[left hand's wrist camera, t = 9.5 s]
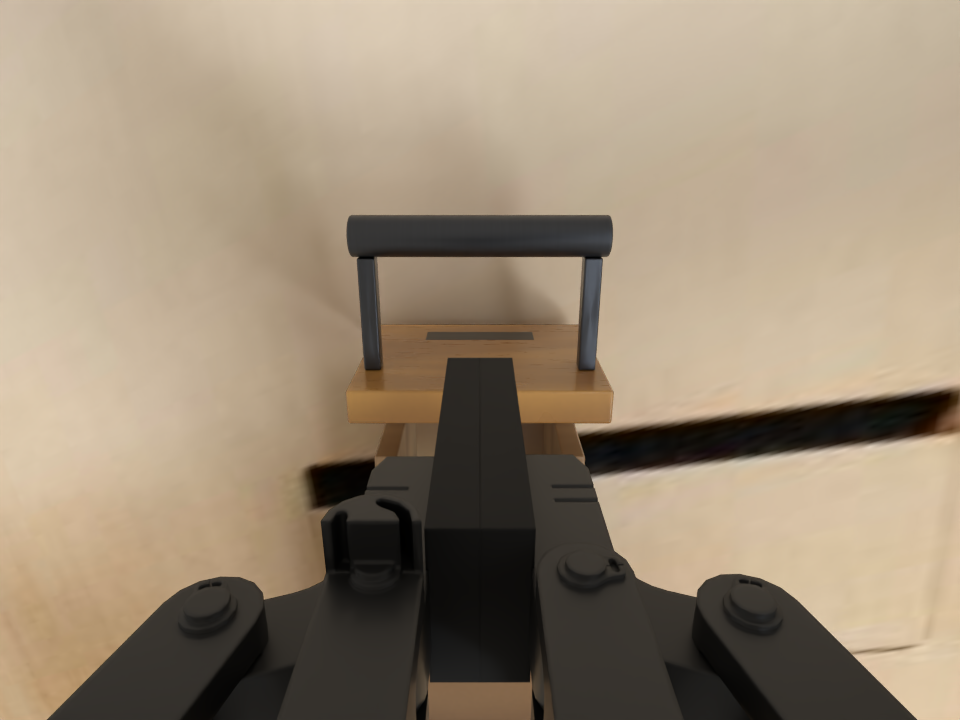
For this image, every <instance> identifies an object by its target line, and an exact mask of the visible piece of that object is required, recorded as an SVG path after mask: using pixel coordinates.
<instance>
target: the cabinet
mask: <svg viewBox="0 0 960 720" xmlns="http://www.w3.org/2000/svg"><path fill="white" fill-rule="evenodd" d="M428 701H429V720H531V701H532V680H531V673H530V682H430V673H429V683H428Z"/></svg>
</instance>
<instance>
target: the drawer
mask: <svg viewBox="0 0 960 720" xmlns="http://www.w3.org/2000/svg"><path fill="white" fill-rule="evenodd" d="M612 241H613V225H612V220H611V217H610V216H609V215H351V216H349V218H348V222H347V245H348V250H349V253H350V255H351V256H352V257H358V258H357V269H358V284H359V298H360V312H361V327H362V341H363V355H364V357H363V359H362V361H361V363H360V365H359V367H358V369H357V371H356V373H355V375H354V377H353V379H352V381H351V383H350V385H349V387H348V389H347V391H346V401H347V413H348V421H349V423H385V426H384V429H383V432H382V436H381V439H380V442H379V445H378V448H377V451H376V455H375V467H376V466H377V465H378V464H380V463H381V462H382V461H383V460H384V459H385V458H386V457H387V456H434V454H435V446H436V439H437V432H438V424H439V417H440V410H441V403H442V395H443V388H444V381H445V374H446V366H447V359H448V358H512V359H513V366H514V374H515V381H516V388H517V395H518V403H519V410H520V417H521V425H522V432H523V439H524V446H525V454H573V455H574V456H575V457H576V458H577V459H578V460H579V461H581V462H582V463H583V464H585V456H584V453H583V450H582V447H581V443H580V440H579V437H578V434H577V431H576V427H575V424H574V423H611V419H612V406H613V394H614V392H613V390H612V388H611V386H610V384H609V382H608V380H607V378H606V376H605V374H604V372H603V370H602V368H601V366H600V364H599V362H598V360H597V358H596V350H597V336H598V321H599V307H600V292H601V278H602V264H603V259H602V258H601V257H607V256H609V254H610V252H611V248H612ZM377 257H583V258H582V275H581V293H580V310H579V325H381V318H380V301H379V284H378V267H377Z"/></svg>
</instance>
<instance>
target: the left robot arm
mask: <svg viewBox="0 0 960 720" xmlns="http://www.w3.org/2000/svg"><path fill="white" fill-rule="evenodd" d="M321 528H322V537H323V547H324V556H325V565H326V575H325V578H324V581H322V582H320V583H318V584H316V585H314V586H312V587H310V588H308V589H305V590H302V591H298V592H295V593H292V594H287V595H283V596H279V597H274V598H270V599H266V600H264V598H263V593H262V591H261V590H260V589H259V588H258V587H257V585H256V584H255V583H254V582H251V581H248V580H246V579H243V578H240V577H217V578H213V579H208V580H203V581H199V582H197V583H195V584H193V585H191V586H188V587H186V588H184V589H182V590H180V591H179V592H177V593H176V594H175V595H173V596H172V597H171V598H169V599H168V600H167V601H165V602H164V603H163V604H162V605H161V606H160V607H159V608H158V609H157V610H156V611H155V612H154V613H153V614H152V615H151V616H150V617H149V618H148V619H147V620H146V621H145V622H144V623H143V624H142V625H141V626H140V627H139V628H138V629H137V630H136V631H135V632H134V633H133V634H132V635H131V636H130V637H129V638H128V639H127V640H126V641H125V642H124V643H123V644H122V645H121V646H120V647H119V648H118V649H117V650H116V651H115V652H114V653H113V654H112V655H111V656H110V657H109V658H108V659H107V660H106V661H105V662H104V663H103V664H102V665H101V666H100V667H99V668H98V669H97V670H96V671H95V672H94V673H93V674H92V675H91V676H90V677H89V678H88V679H87V680H86V681H85V682H84V683H83V684H82V685H81V686H80V687H79V688H78V689H77V690H76V691H75V692H74V693H73V694H72V695H71V696H70V697H69V698H68V699H67V700H66V701H65V702H64V703H63V704H62V705H61V706H60V707H59V708H58V709H57V710H56V711H55V712H54V713H53V714H52V715H51V716H50V717H49V718H48V719H47V720H429V701H428V683H429V673H430V682H530V673H531V680H532V701H531V720H917V719H916V718H915V717H914V716H913V715H912V714H911V713H910V712H909V711H908V710H907V709H906V708H905V707H904V706H903V705H902V704H901V703H900V702H899V701H898V700H897V699H896V698H895V697H894V696H893V695H892V694H891V693H890V692H889V691H888V690H887V689H886V688H885V687H884V686H883V685H882V684H881V683H880V682H879V681H878V680H877V679H876V678H875V677H874V676H873V675H872V674H871V673H870V672H869V671H868V670H867V669H866V668H865V667H864V666H863V665H862V664H861V663H860V662H859V661H858V660H857V659H856V658H855V657H854V656H853V655H852V654H851V653H850V652H849V651H848V650H847V649H846V648H845V647H844V646H843V645H842V644H841V643H840V642H839V641H838V640H837V639H836V638H835V637H834V636H833V635H832V634H831V633H830V632H829V631H828V630H827V629H826V628H825V627H824V626H823V625H822V624H821V623H820V622H818V621H817V620H816V619H815V618H814V617H813V616H812V615H811V614H810V613H809V612H808V611H807V610H806V609H805V608H804V607H803V606H802V605H801V604H800V603H799V602H798V601H797V600H796V599H795V598H794V597H792V596H791V595H790V594H788V593H787V592H786V591H784V590H783V589H782V588H780V587H778V586H776V585H774V584H771V583H769V582H767V581H765V580H763V579H760V578H756V577H751V576H746V575H742V574H724V575H718V576H716V577H713V578H710V579H708V580H706V581H705V582H704V583H703V584H702V586H701V587H700V588H699V589H698V592H697V597H693V596H688V595H684V594H680V593H675V592H671V591H667V590H664V589H660V588H657V587H654V586H651V585H649V584H647V583H645V582H643V581H641V580H639V579H637V578H636V577H635V574H634V571H633V570H632V568H631V567H630V565H629V564H628V562H627V560H626V559H624V558H623V557H622V556H620V555H619V554H618V553H616V552H615V551H614V549H613V546H612V543H611V540H610V536H609V533H608V530H607V527H606V524H605V520H604V517H603V514H602V511H601V508H600V504H599V502H598V498H597V495H596V492H595V488H593V482H592V479H591V476H590V472H589V469H588V468H587V467H586V466H585V465H584V464H583V463H582V462H581V461H579V460H578V459H577V458H576V457H575V456H574V455H573V454H525V446H524V439H523V432H522V425H521V417H520V410H519V403H518V395H517V388H516V381H515V374H514V366H513V359H512V358H448V359H447V366H446V374H445V381H444V388H443V395H442V403H441V410H440V417H439V424H438V432H437V439H436V446H435V454H434V456H387V457H386V458H385V459H384V460H383V461H382V462H381V463H380V464H378V465H377V466H376V467H375V468H374V469H373V470H372V472H371V475H370V478H369V481H368V485H367V490H366V491H365V494H364V495H360V496H357V497H354V498H351V499H348V500H345V501H342V502H341V503H339V504H338V505H336V506H335V507H333V508H332V509H330V510H329V511H328V512H327V514H326V515H325V516H324V518H323V519H322V520H321Z"/></svg>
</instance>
